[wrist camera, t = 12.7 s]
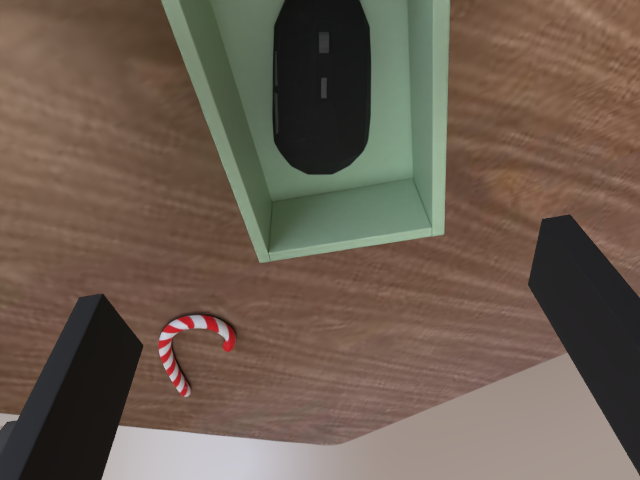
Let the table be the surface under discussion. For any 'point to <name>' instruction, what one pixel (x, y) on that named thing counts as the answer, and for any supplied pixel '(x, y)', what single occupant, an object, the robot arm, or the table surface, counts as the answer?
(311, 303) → the table surface
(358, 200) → the open rectangular box
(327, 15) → the gaming mouse
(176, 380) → the candy cane
